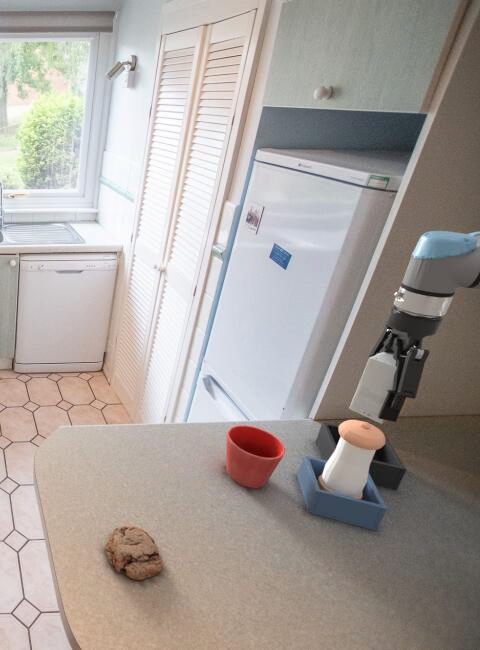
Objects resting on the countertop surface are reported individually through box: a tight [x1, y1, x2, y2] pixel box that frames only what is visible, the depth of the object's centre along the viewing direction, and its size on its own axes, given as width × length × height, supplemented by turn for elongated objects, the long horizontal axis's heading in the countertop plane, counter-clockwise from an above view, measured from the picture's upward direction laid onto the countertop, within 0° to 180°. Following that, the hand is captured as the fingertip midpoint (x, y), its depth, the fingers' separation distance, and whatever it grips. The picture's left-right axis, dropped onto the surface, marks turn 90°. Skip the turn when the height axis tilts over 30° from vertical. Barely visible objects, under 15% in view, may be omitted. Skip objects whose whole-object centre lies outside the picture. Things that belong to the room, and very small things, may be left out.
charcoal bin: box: [315, 421, 407, 491], centre depth 103 cm, size 12×12×6 cm
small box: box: [348, 352, 409, 425], centre depth 96 cm, size 8×6×13 cm
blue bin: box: [296, 455, 387, 532], centre depth 93 cm, size 11×11×6 cm
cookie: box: [104, 525, 164, 581], centre depth 82 cm, size 10×11×3 cm
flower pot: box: [225, 424, 286, 489], centre depth 99 cm, size 11×11×10 cm
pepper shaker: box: [317, 419, 385, 500], centre depth 90 cm, size 7×7×19 cm
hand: (377, 405), depth 98 cm, fingers closed on small box, 10 cm apart
